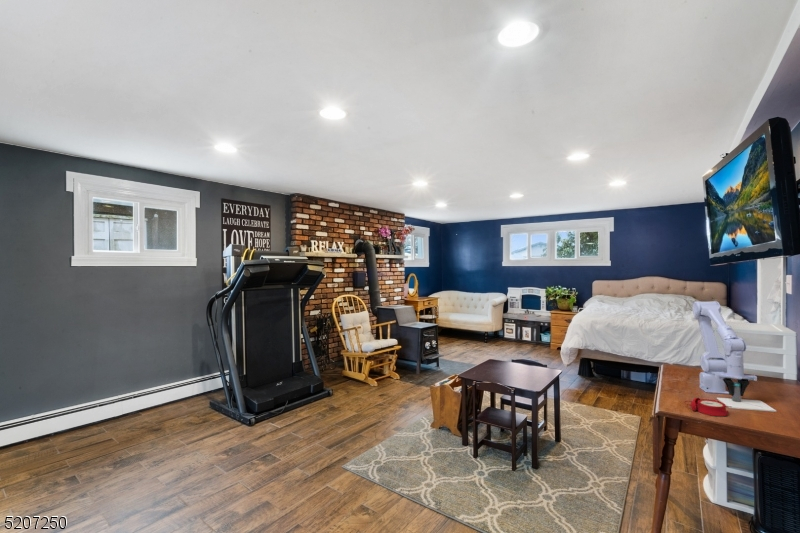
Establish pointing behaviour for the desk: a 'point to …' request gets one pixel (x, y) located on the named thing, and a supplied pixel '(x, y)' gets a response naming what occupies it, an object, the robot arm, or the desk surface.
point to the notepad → (746, 404)
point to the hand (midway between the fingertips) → (736, 395)
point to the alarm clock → (709, 407)
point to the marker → (736, 392)
